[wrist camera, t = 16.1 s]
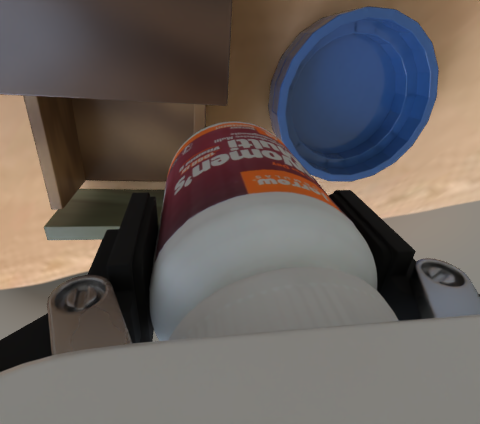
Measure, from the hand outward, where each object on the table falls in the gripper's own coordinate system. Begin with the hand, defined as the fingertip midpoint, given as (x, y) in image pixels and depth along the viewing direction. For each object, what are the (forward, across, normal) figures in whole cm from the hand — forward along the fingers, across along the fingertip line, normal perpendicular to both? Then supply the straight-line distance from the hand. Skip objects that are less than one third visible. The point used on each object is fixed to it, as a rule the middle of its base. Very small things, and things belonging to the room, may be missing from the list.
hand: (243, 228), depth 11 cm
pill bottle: (+5, 0, 0) cm, 5 cm away
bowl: (+19, -12, -2) cm, 22 cm away
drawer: (+18, +6, +3) cm, 20 cm away
